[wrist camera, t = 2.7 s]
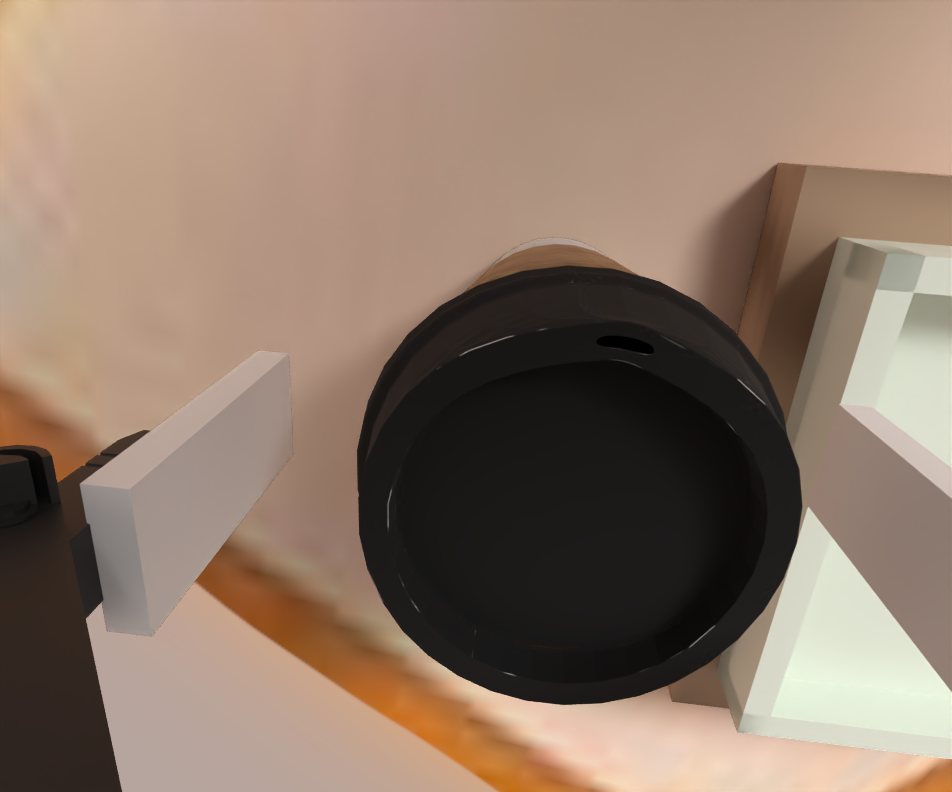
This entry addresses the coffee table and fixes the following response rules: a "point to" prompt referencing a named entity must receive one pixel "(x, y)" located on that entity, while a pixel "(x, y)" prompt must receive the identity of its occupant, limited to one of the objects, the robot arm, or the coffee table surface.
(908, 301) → the tray
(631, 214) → the coffee table surface
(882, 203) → the shelf board
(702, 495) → the coffee cup
